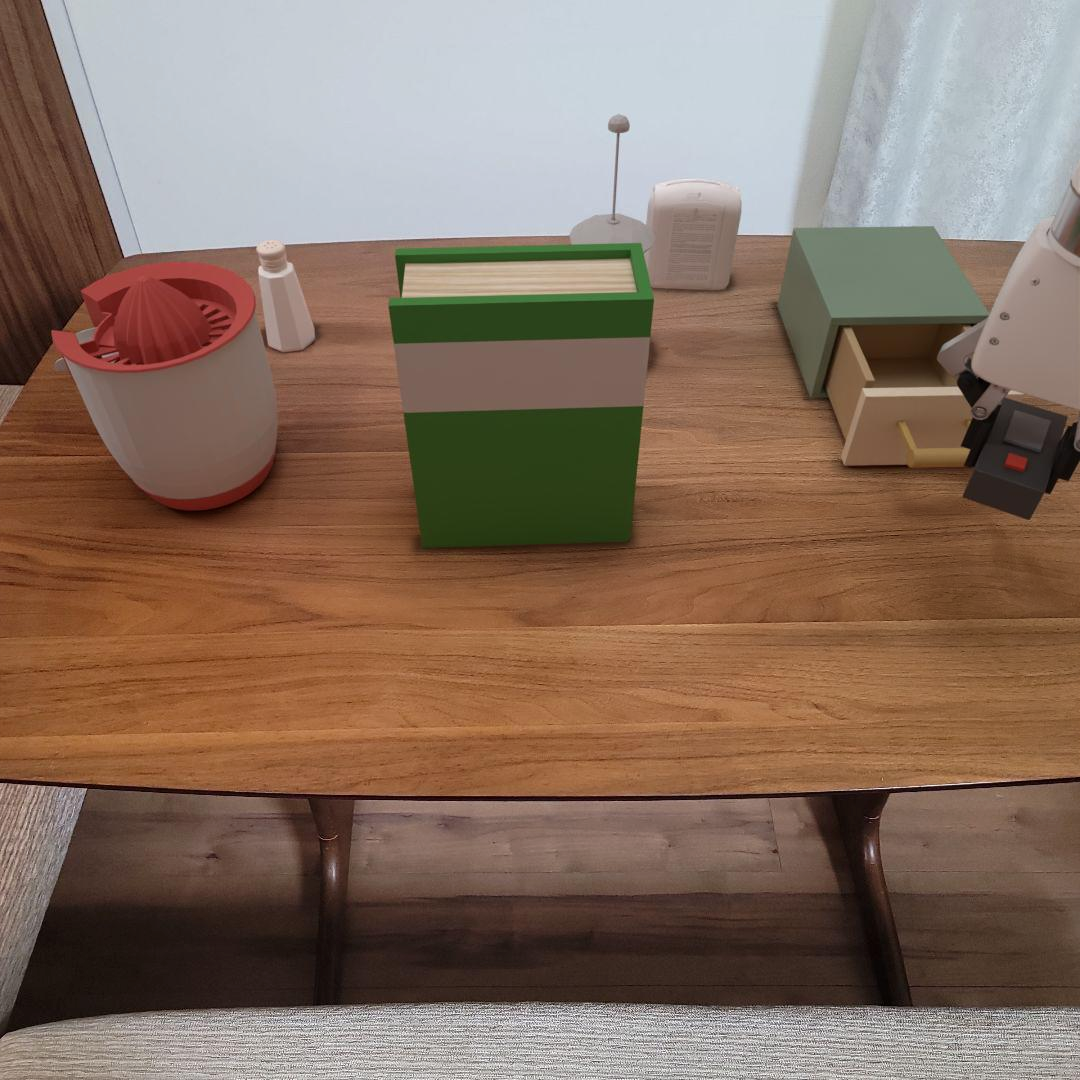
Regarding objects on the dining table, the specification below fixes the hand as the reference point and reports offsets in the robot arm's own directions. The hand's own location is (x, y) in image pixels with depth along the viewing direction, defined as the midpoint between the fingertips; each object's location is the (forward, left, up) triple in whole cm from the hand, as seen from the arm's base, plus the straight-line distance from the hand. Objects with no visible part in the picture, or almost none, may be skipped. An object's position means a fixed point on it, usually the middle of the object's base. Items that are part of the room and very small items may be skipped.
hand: (1010, 466), depth 65 cm
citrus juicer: (+64, -17, -14) cm, 68 cm away
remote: (0, 0, 0) cm, 0 cm away
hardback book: (+34, -10, -14) cm, 38 cm away
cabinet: (-2, -34, -14) cm, 37 cm away
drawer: (-2, -20, -13) cm, 24 cm away
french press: (+25, -33, -14) cm, 44 cm away
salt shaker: (+59, -38, -14) cm, 72 cm away
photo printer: (+15, -48, -14) cm, 52 cm away
